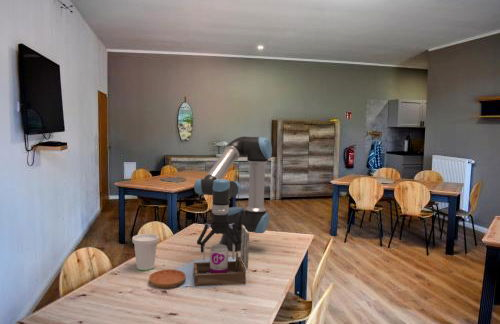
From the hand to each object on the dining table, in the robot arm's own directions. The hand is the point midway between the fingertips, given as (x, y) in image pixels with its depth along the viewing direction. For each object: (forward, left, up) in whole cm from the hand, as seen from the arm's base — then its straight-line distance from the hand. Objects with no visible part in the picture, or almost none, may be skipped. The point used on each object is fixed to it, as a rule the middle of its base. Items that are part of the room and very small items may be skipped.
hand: (218, 258), depth 172 cm
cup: (-17, -34, -10) cm, 39 cm away
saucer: (+1, -23, -10) cm, 25 cm away
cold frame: (0, 0, -9) cm, 9 cm away
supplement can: (0, 0, -10) cm, 10 cm away
